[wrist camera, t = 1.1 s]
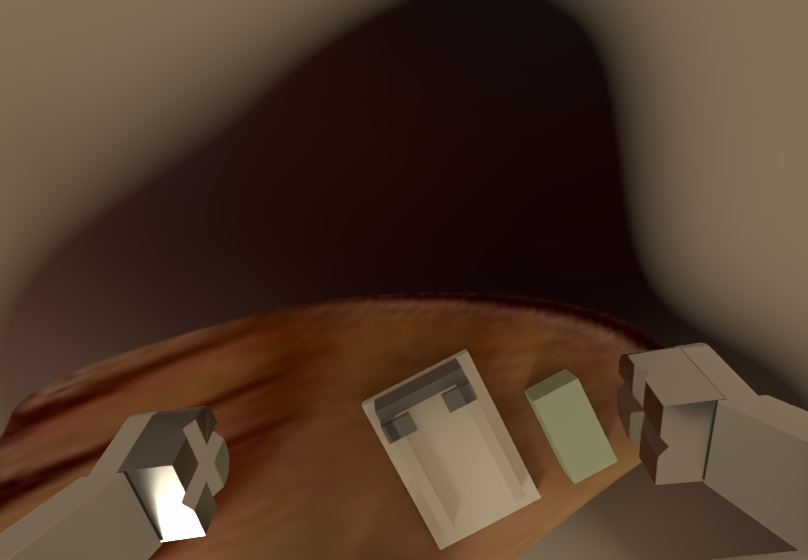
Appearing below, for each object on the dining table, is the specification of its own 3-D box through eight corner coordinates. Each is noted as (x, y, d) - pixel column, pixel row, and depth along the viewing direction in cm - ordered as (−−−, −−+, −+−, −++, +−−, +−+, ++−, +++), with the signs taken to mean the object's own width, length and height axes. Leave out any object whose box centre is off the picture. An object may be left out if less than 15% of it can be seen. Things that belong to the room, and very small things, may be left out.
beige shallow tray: (537, 491, 56) (557, 523, 50) (438, 543, 56) (447, 580, 50) (465, 348, 53) (478, 364, 47) (361, 402, 53) (361, 425, 47)
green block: (602, 446, 56) (617, 461, 53) (561, 467, 56) (574, 484, 53) (564, 367, 55) (577, 378, 51) (522, 389, 55) (533, 401, 51)
